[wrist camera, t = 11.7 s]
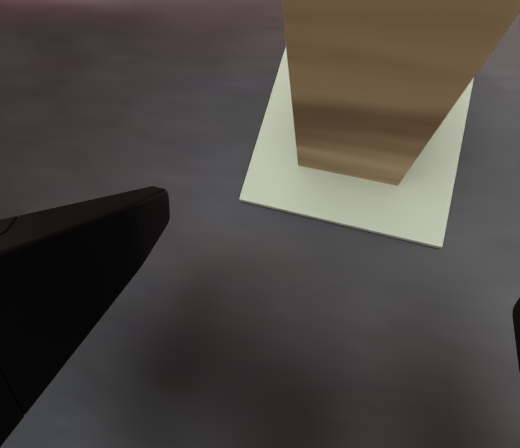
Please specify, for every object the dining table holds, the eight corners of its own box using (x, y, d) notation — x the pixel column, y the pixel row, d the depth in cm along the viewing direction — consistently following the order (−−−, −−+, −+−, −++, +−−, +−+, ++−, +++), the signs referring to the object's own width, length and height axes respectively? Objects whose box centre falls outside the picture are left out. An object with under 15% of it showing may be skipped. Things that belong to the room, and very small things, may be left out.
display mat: (439, 248, 17) (442, 247, 16) (240, 201, 19) (239, 199, 18) (473, 66, 18) (476, 61, 18) (289, 41, 20) (288, 36, 20)
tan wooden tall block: (400, 186, 17) (640, -144, 5) (298, 165, 18) (266, -151, 6) (419, 96, 18) (661, -382, 6) (320, 81, 19) (336, -351, 7)
